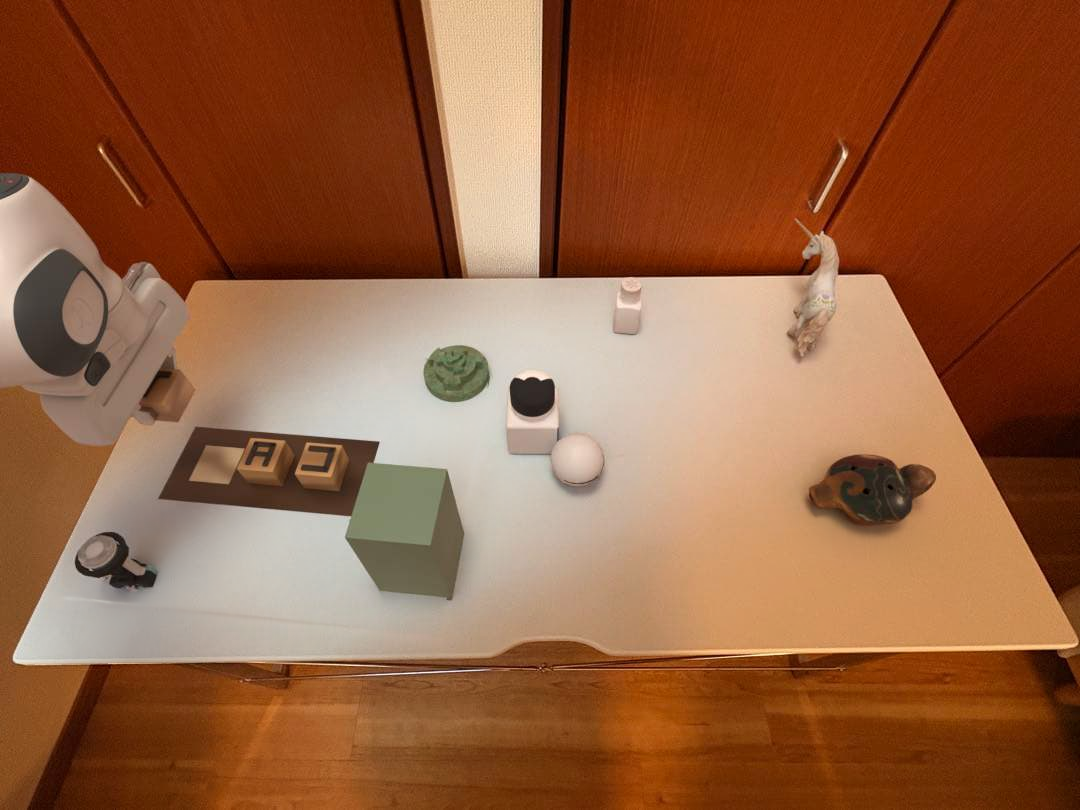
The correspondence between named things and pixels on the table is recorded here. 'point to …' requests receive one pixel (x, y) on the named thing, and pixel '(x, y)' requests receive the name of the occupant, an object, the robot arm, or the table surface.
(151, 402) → the tile
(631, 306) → the pepper shaker
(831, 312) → the unicorn figurine
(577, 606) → the table surface
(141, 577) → the push button
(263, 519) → the table surface
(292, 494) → the word board
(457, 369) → the decorative artifact
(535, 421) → the white black domed block
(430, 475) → the stand
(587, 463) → the white sphere
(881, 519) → the decorative turtle
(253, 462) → the tile
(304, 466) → the tile
